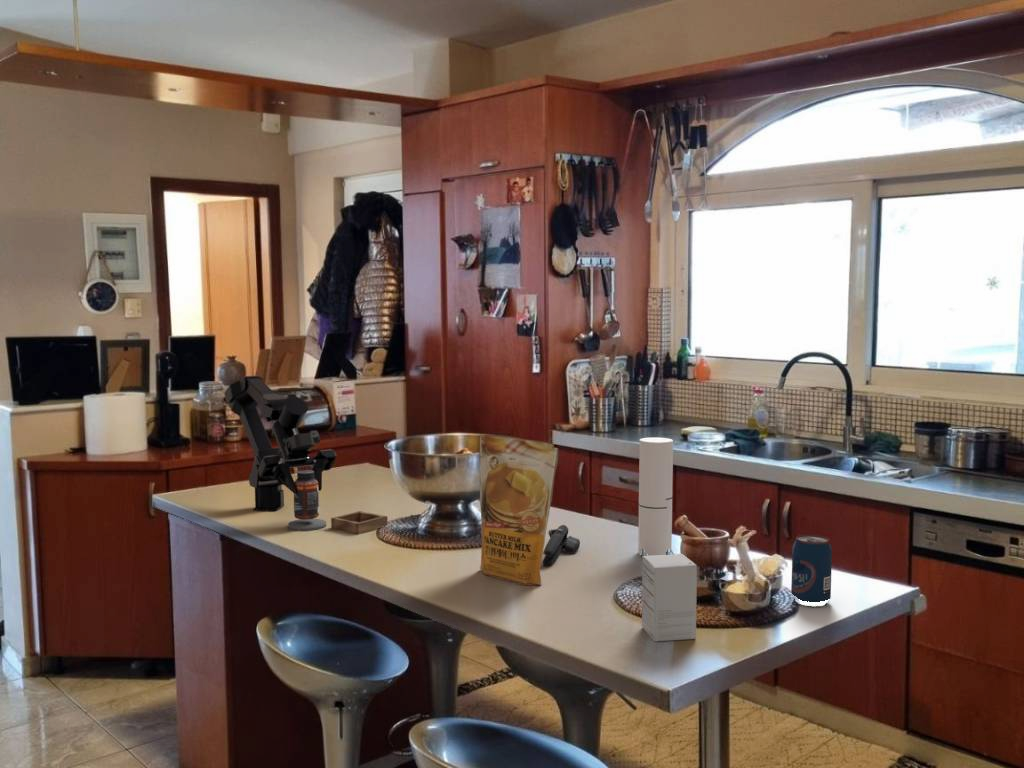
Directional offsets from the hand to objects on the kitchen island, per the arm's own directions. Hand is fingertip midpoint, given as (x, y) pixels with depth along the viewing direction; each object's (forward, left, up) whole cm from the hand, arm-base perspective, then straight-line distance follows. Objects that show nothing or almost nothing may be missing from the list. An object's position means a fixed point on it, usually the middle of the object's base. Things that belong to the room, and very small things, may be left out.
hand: (308, 491), depth 237 cm
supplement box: (+82, -66, -9) cm, 106 cm away
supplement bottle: (-1, +1, -7) cm, 7 cm away
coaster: (-1, +1, -9) cm, 9 cm away
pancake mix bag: (+53, -36, -9) cm, 65 cm away
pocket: (+12, +1, -9) cm, 15 cm away
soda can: (+109, -47, -9) cm, 119 cm away
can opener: (+61, -20, -9) cm, 65 cm away
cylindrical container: (+82, -16, -9) cm, 84 cm away
